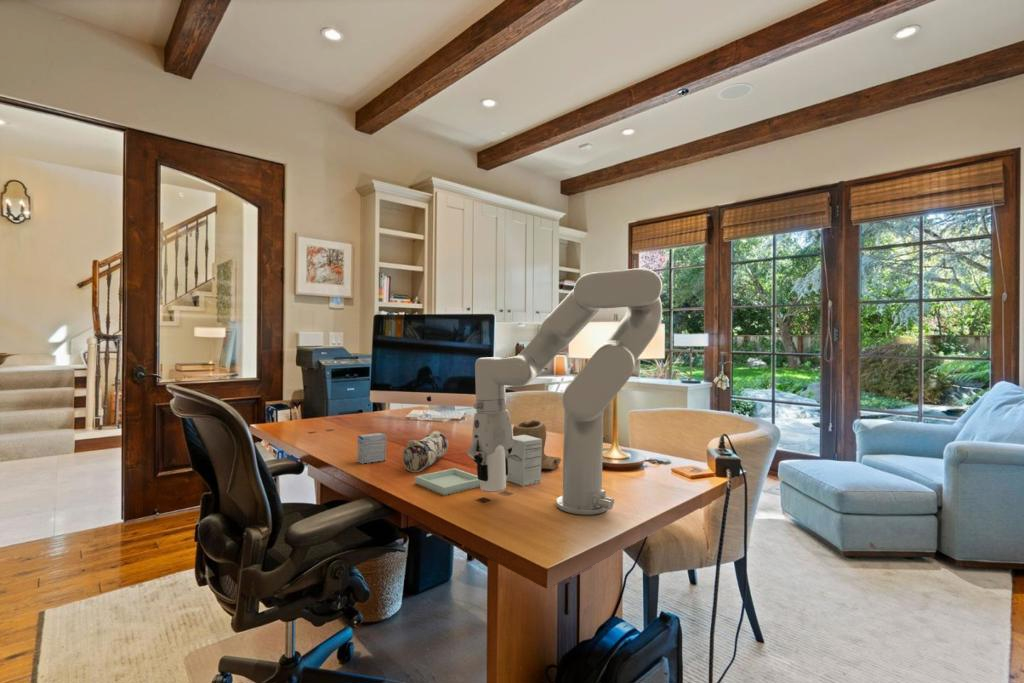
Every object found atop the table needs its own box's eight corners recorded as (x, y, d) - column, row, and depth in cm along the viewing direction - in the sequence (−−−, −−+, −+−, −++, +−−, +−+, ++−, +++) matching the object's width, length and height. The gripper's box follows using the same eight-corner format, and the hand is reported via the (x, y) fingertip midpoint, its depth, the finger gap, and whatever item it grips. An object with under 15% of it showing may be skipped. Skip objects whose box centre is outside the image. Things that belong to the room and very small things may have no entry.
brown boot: (506, 471, 150) (507, 422, 150) (515, 462, 161) (516, 416, 161) (555, 475, 146) (556, 425, 146) (561, 465, 158) (561, 419, 158)
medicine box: (379, 458, 163) (380, 432, 163) (385, 461, 159) (386, 434, 159) (357, 461, 157) (357, 435, 157) (362, 464, 154) (363, 437, 154)
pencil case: (427, 474, 145) (428, 441, 145) (400, 472, 146) (401, 440, 146) (449, 457, 167) (449, 428, 167) (425, 455, 168) (426, 427, 168)
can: (507, 485, 126) (506, 438, 126) (504, 492, 119) (503, 443, 119) (482, 484, 126) (481, 438, 126) (478, 492, 120) (477, 443, 120)
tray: (484, 485, 134) (484, 478, 134) (444, 495, 125) (444, 487, 125) (454, 475, 144) (454, 468, 144) (415, 483, 135) (415, 476, 135)
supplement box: (505, 480, 139) (506, 436, 139) (524, 476, 144) (525, 434, 144) (522, 487, 134) (523, 441, 134) (541, 482, 139) (542, 438, 139)
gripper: (474, 411, 114) (476, 487, 114) (525, 403, 126) (527, 472, 126) (454, 408, 120) (456, 481, 119) (505, 401, 132) (507, 468, 131)
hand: (493, 476), depth 123 cm, fingers closed on can, 6 cm apart
